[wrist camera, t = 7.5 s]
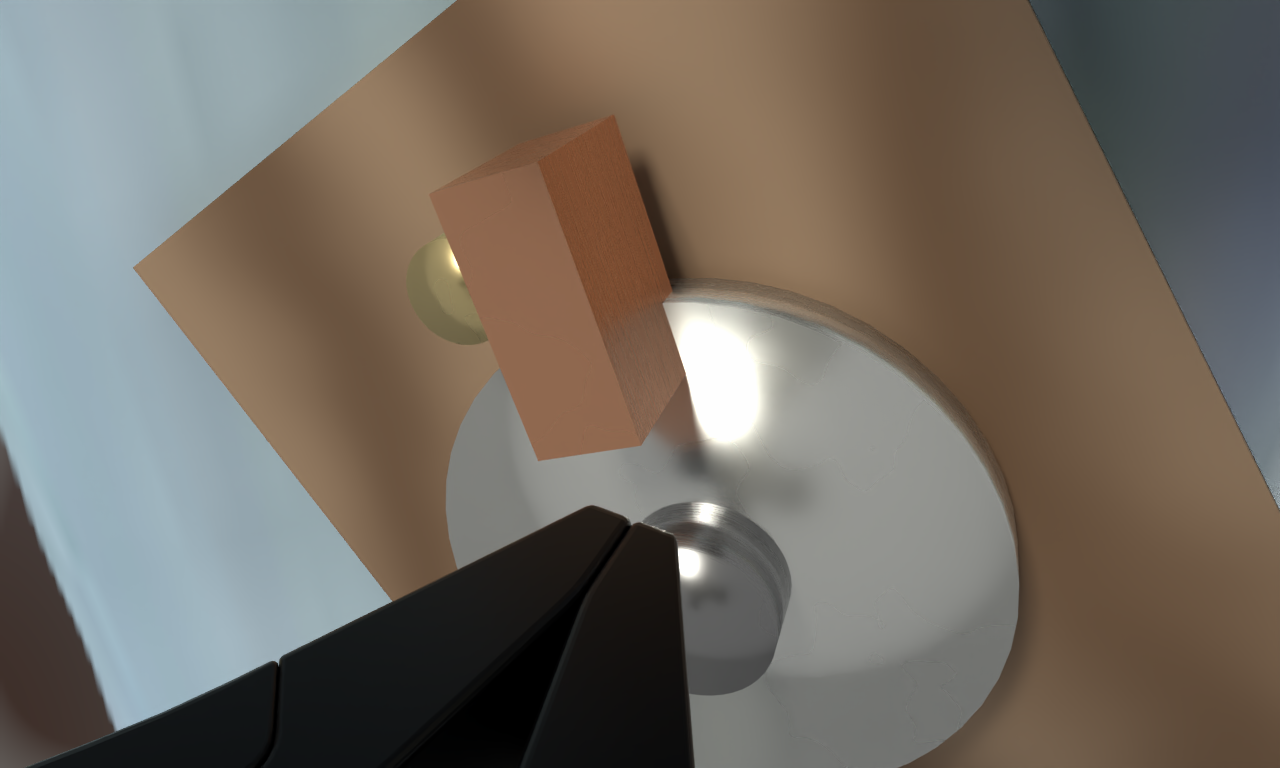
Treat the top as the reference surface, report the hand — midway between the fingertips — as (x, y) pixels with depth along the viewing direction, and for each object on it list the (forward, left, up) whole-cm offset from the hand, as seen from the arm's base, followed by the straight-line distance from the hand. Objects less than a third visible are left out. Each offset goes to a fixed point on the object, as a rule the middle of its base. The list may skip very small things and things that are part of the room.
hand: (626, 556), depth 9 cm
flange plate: (+4, +3, -9) cm, 10 cm away
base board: (+4, +5, -10) cm, 12 cm away
